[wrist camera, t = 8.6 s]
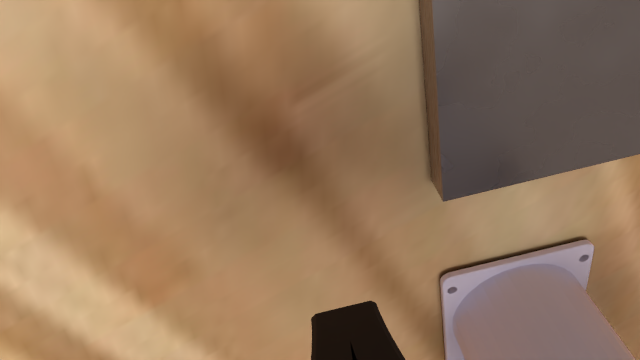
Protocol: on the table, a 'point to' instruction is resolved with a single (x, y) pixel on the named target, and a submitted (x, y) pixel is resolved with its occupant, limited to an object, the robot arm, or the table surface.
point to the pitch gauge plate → (528, 88)
